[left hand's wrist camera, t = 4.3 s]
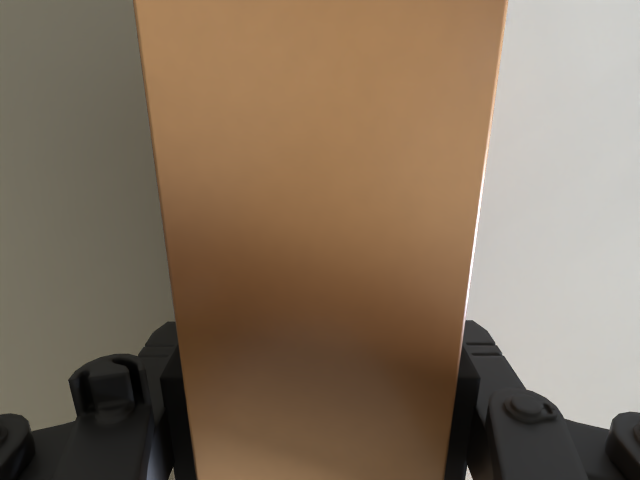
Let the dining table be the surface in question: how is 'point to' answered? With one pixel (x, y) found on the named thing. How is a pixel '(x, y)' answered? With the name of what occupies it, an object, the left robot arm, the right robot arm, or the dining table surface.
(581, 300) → the dining table surface
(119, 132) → the dining table surface
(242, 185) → the bar
